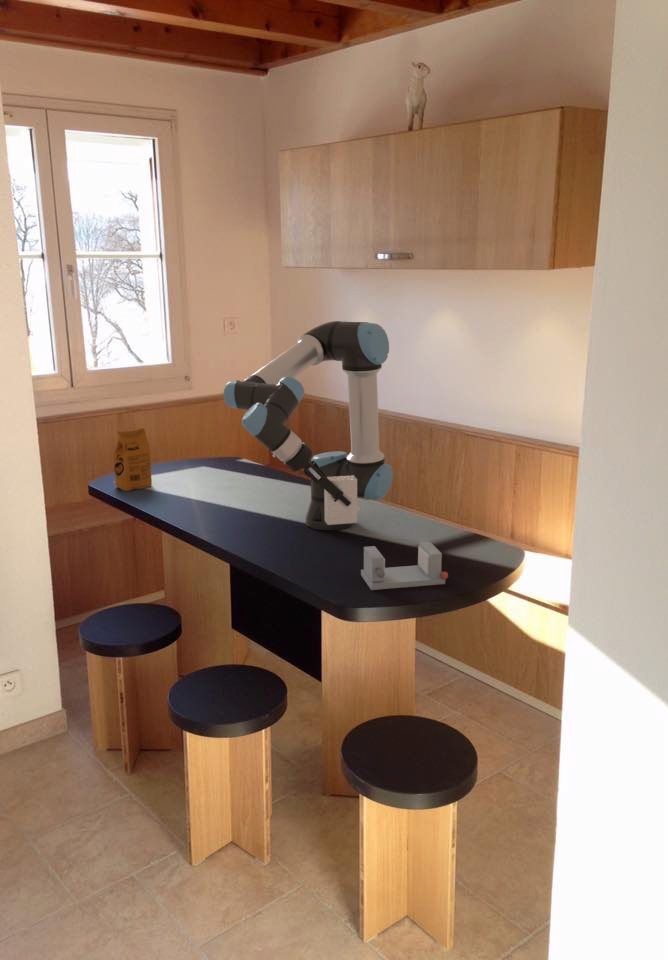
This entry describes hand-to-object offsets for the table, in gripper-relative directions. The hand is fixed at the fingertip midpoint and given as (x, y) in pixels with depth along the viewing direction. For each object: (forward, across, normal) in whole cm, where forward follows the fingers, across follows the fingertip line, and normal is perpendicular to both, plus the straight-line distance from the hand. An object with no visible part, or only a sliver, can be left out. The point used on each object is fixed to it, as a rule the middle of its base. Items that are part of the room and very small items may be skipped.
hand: (354, 508), depth 228 cm
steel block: (0, 0, -5) cm, 5 cm away
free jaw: (+14, +10, -9) cm, 19 cm away
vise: (+21, +8, -5) cm, 23 cm away
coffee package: (-29, -104, -55) cm, 121 cm away
